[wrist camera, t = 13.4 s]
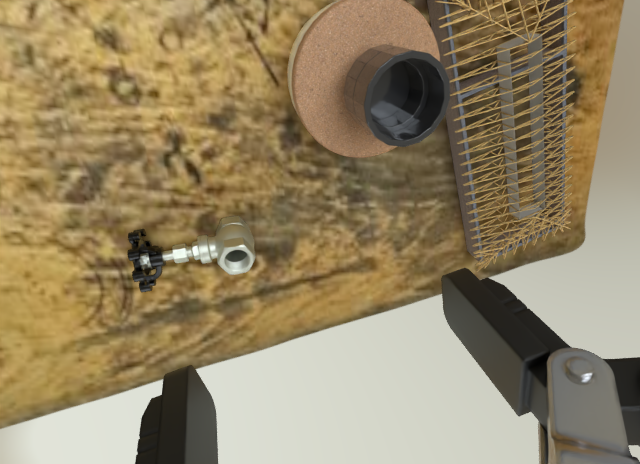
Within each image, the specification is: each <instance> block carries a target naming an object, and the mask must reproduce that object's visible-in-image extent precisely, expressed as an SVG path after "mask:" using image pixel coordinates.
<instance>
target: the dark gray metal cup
mask: <svg viewBox="0 0 640 464" xmlns="http://www.w3.org/2000/svg"><path fill="white" fill-rule="evenodd" d="M343 94H344V100H345V105H346V109H347V111H348V112H349V114H350V115H351V117H352V118H353V120H354V121H355V122H356V123H358V124H359V125H360V126H361V127H363V128H364V129H365V130H367V131H368V132H369V133H370V134H372V135H373V136H374V137H376V138H377V139H379V140H380V141H382V142H384V143H385V144H387V145H389V146H400V147H406V146H409V145H412V144H415V143H418V142H420V141H422V140H423V139H424V138H426V137H427V136H428V135H430V134H431V133H432V132H434V131H435V129H436V128H437V126H438V125H439V123H440V122H441V120H442V119H443V118H444V115H445V113H446V110H447V107H448V103H449V100H450V80H449V77H448V75H447V73H446V71H445V69H444V66H443V64H442V63H441V62H440V61H438V60H437V59H436V58H435V57H433V56H432V55H431V54H429V53H426V52H422V51H417V50H413V49H408V48H404V47H399V46H394V45H388V44H383V45H379V46H376V47H372V48H370V49H368V50H367V51H365V52H364V53H363V54H362V55H360V56H359V57H358V58H357V59H356V60H355V61H354V63H353V65H352V67H351V68H350V70H349V72H348V73H347V76H346V80H345V86H344V93H343Z"/></svg>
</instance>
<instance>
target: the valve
mask: <svg viewBox="0 0 640 464" xmlns="http://www.w3.org/2000/svg"><path fill="white" fill-rule="evenodd" d="M142 236H146V232H145V230H144V229H139V230H134V232H131V233H129V234H128V239H129V242H130V243H131V244H132V249H130V250H128V258H129V260H130V261H133V264H134V271H133V272H132V276H133V280H134V281H135V282H138V281H140V283H139V288H140V291H141V292H147V291H152V286H155V285H156V279H157V278H158V277H159V276H160V275H161V274H162V266H165V265H166V261H168V260H173V259H174V261H175V263H181V262H187V261H189V257H194V258H195V259H196V260H198V259H201V262H202V263H203V264H204V263H209V262H212V259H214V258H217V260H218V264H219V265H220V266H221V267H222V268H223V269H224V270H225V271H226V272H227V273H228V274H230V275H234V274H241V273H245V272H248V271H249V270H250V268H251V266H252V264H253V262H254V260H255V257H256V255H255V251H254V238H253V235H252V234H251V232H250V228H249V226H248V225H247V224H246V222H245V221H244V220H243V219H242V218H241V217H240V216H230V217H225V218H222V219H221V221H220V223H219V225H218V228H217V231H216V236H214V237H208V235H201V236H198V237H197V241H196V242H192V246H188V247H187V246H186V243H184V244H179V245H173V247H172V250H170V251H164V249H163V248H162V247H158V246H152V245H151V242H150V241H144V240H143V239H142ZM143 269H144V270H143ZM153 269H156V273H155V274H154V275H151V270H153Z"/></svg>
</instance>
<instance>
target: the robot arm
mask: <svg viewBox="0 0 640 464" xmlns="http://www.w3.org/2000/svg"><path fill="white" fill-rule="evenodd" d="M441 282H442V296H443V310H444V314H445V317H446V320H447V322H448V324H449V326H450V328H451V329H452V330H453V332H454V333H455V334H456V336H457V337H458V338H459V340H461V342H462V343H463V345H464V346H465V347H466V349H467V350H468V351H469V353H470V354H471V355H472V356H473V358H474V359H475V360H476V362H477V363H478V364H479V365H480V367H481V368H482V369H483V371H484V372H485V373H486V375H487V376H488V377H489V378H490V380H491V381H492V383H493V384H494V385H495V386H496V388H497V389H498V390H499V392H500V393H501V394H502V396H503V397H504V398H505V399H506V401H507V402H508V403H509V405H510V406H511V407H512V409H513V410H514V411H515V412H516V414H517V415H518V416H521V415H523V414H526V413H529V412H532V413H533V414H534V416H535V417H536V418H537V419H538V421H539V423H538V434H539V464H640V462H639V460H638V459H637V458H636V457H632V455H631V453H630V451H629V447H628V445H639V446H640V357H638V358H623V359H602V358H600V357H599V356H597V355H595V354H594V353H591V352H589V351H586V350H583V349H578V348H572V347H570V346H569V345H568V344H566V343H565V342H564V341H563V340H562V339H561V338H560V337H559V336H558V335H557V334H556V333H555V332H554V331H552V330H551V329H550V328H549V327H548V326H547V325H546V324H545V323H544V322H543V321H542V320H541V319H540V318H539V317H537V316H536V315H535V314H534V313H533V312H532V311H531V310H530V309H527V307H526V305H525V304H523V303H522V302H521V301H520V300H519V299H517V298H516V296H515V295H514V294H513V293H512V292H511V291H510V290H508V289H507V288H506V287H505V286H504V285H502V284H500V283H498V282H495V281H494V280H491V279H489V278H485V279H482V280H479V279H478V278H477V277H476V276H475V275H474V274H473V273H472V272H471V271H470V270H469V269H467V268H463V269H460V270H457V271H454V272H452V273H449V274H446V275H443V276H442V279H441ZM216 422H217V421H216V410H215V405H214V402H213V399H212V396H211V394H210V393H209V391H208V390H207V388H206V386H205V384H204V383H203V381H202V380H201V378H200V376H199V375H198V373H197V372H196V370H195V368H194V367H193V366H192V365H189V366H186V367H184V368H181V369H178V370H175V371H173V372H170V373H167V374H165V376H164V379H163V389H162V395H160V396H158V397H155V398H152V399H151V400H150V403H149V405H148V406H147V408H146V410H145V412H144V414H143V416H142V420H141V427H140V434H139V436H140V439H139V441H138V448H137V452H138V455H136V462H135V464H218V448H217V423H216Z"/></svg>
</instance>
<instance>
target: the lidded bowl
mask: <svg viewBox="0 0 640 464" xmlns="http://www.w3.org/2000/svg"><path fill="white" fill-rule="evenodd" d="M383 44H388V45H394V46H399V47H404V48H408V49H413V50H417V51H422V52H426V53H429V54H431V55H432V56H433V57H435V58H436V59H437V60H438V61H440V54H439V50H438V45H437V41H436V38H435V36H434V33H433V31H432V29H431V27H430V25H429V24H428V22H427V20H426V19H425V18H424V17H423V15H422V14H421V13H420V12H419V11H418V10H417V9H416V8H414V7H413V6H412V5H411V4H410V3H408V2H406V1H404V0H337V1H335V2H333V3H331V4H329V5H327V6H325V7H324V8H322V9H321V10H320V11H318V12H317V13H315V14H314V15H313V16H312V17H311V18H310V19H309V20H308V21H307V22H306V24H305V25H304V26H303V28H302V29H301V31H300V32H299V34H298V36H297V38H296V40H295V42H294V44H293V47H292V50H291V53H290V56H289V62H288V73H287V79H288V88H289V92H290V96H291V100H292V103H293V105H294V108H295V110H296V112H297V114H298V115H299V118H300V120H301V122H302V123H303V125H304V126H305V128H306V129H307V131H308V132H309V133H310V134H311V135H312V137H313V138H314V139H315V140H316V141H317V142H318V143H320V144H321V145H322V146H324V147H325V148H327V149H328V150H330V151H332V152H334V153H337V154H340V155H343V156H347V157H354V158H365V157H371V156H376V155H379V154H382V153H385V152H388V151H390V150H391V149H393V148H395V147H397V146H389V145H387V144H385V143H384V142H382V141H380V140H379V139H377V138H376V137H374V136H373V135H372V134H370V133H369V132H368V131H367V130H365V129H364V128H363V127H361V126H360V125H359V124H358V123H356V122H355V121H354V120H353V118H352V117H351V115H350V114H349V112H348V111H347V109H346V105H345V100H344V94H343V93H344V86H345V80H346V76H347V73H348V72H349V70H350V68H351V67H352V65H353V63H354V61H355V60H356V59H357V58H358V57H359V56H360V55H362V54H363V53H364V52H365V51H367V50H368V49H370V48H372V47H376V46H379V45H383Z"/></svg>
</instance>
